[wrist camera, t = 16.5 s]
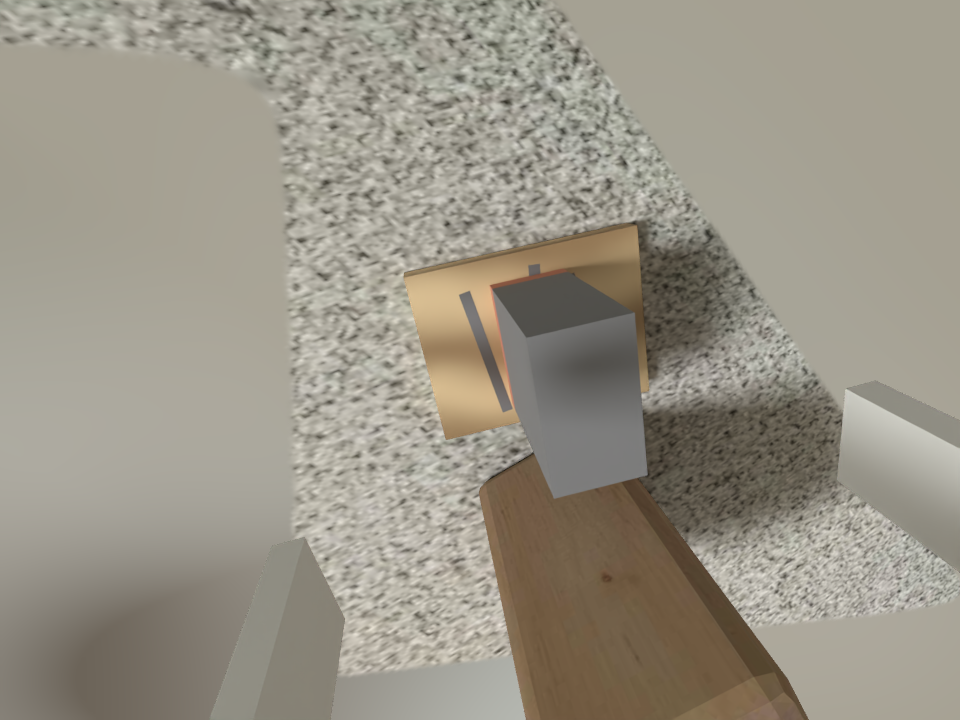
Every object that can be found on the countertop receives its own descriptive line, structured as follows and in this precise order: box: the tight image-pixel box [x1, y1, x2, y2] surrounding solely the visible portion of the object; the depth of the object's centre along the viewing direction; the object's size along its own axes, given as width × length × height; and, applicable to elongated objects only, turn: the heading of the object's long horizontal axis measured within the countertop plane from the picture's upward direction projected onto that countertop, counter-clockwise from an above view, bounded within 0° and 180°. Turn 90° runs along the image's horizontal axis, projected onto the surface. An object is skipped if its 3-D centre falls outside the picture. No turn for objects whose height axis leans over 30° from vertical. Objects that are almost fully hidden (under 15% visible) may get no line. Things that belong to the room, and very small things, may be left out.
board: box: [404, 223, 649, 440], centre depth 31 cm, size 11×14×2 cm
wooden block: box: [479, 454, 809, 720], centre depth 27 cm, size 10×10×20 cm
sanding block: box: [490, 269, 648, 499], centre depth 25 cm, size 8×4×10 cm, turn 12°
